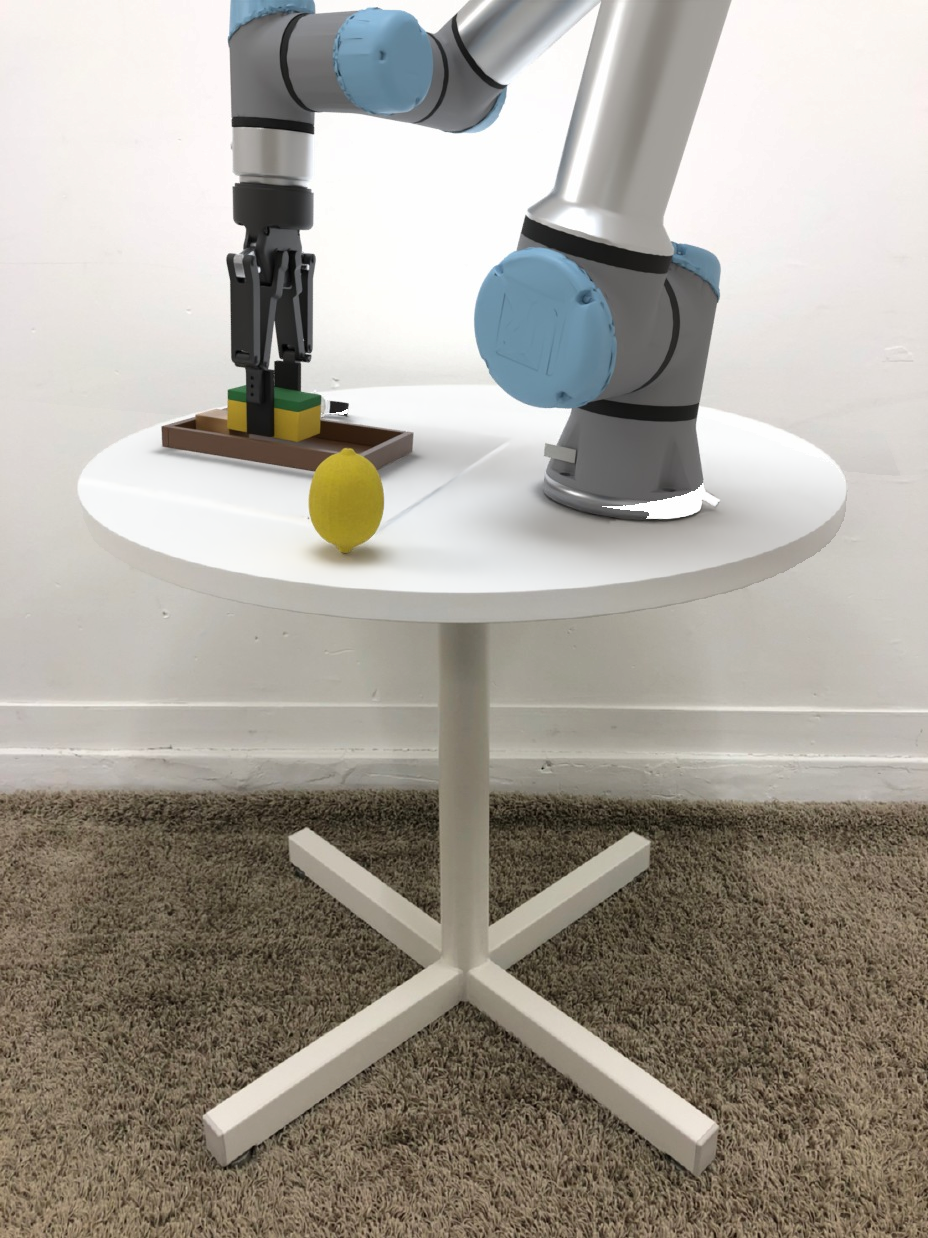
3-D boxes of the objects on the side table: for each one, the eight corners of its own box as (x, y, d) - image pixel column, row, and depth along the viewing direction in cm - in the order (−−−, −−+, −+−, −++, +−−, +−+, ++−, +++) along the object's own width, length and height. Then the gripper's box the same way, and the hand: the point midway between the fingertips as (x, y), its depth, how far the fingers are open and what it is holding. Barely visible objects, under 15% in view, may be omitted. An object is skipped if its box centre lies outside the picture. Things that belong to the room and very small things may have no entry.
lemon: (305, 563, 70) (307, 455, 67) (310, 539, 75) (311, 437, 72) (382, 566, 71) (386, 459, 68) (381, 542, 76) (386, 441, 73)
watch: (280, 419, 115) (280, 388, 114) (290, 412, 120) (290, 382, 118) (344, 425, 115) (345, 394, 114) (351, 417, 119) (352, 388, 118)
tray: (412, 456, 103) (413, 432, 102) (360, 484, 91) (361, 457, 90) (233, 428, 109) (233, 405, 108) (162, 451, 97) (160, 426, 96)
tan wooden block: (249, 437, 103) (249, 413, 102) (229, 444, 99) (229, 419, 98) (216, 431, 104) (216, 408, 103) (195, 438, 101) (195, 414, 100)
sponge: (252, 420, 103) (252, 382, 101) (320, 433, 101) (321, 395, 99) (227, 428, 98) (227, 389, 97) (297, 442, 96) (299, 402, 95)
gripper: (283, 184, 100) (283, 411, 109) (183, 174, 84) (193, 440, 93) (350, 189, 98) (344, 420, 107) (260, 179, 82) (263, 451, 91)
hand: (274, 429), depth 100 cm, fingers closed on sponge, 5 cm apart
